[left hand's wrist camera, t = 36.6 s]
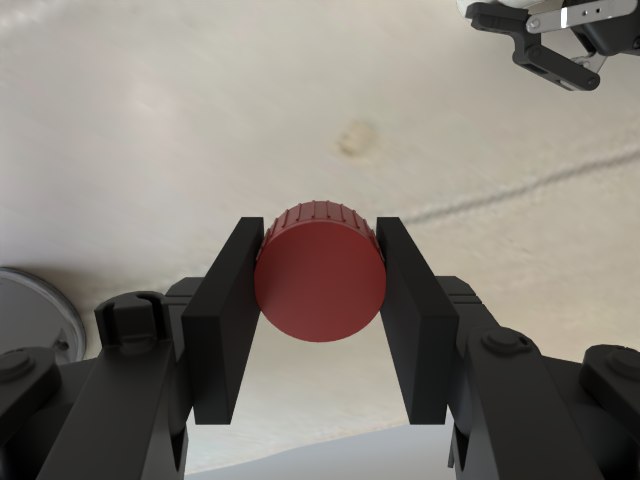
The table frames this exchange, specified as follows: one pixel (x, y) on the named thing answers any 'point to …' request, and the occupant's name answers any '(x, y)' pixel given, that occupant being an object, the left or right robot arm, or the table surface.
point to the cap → (320, 272)
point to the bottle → (510, 0)
